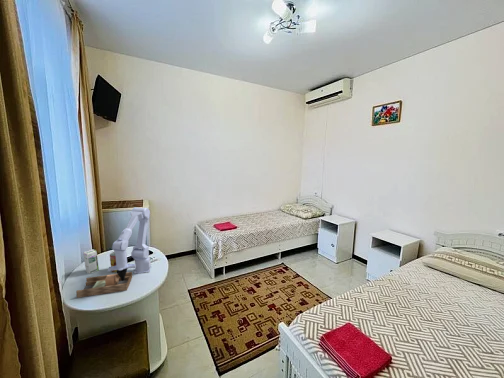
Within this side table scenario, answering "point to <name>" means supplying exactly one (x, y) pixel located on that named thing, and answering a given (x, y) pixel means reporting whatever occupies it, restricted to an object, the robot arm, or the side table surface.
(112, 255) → the canned food
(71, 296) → the side table surface
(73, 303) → the side table surface
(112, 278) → the terracotta block
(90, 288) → the trap lane
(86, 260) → the syrup box
